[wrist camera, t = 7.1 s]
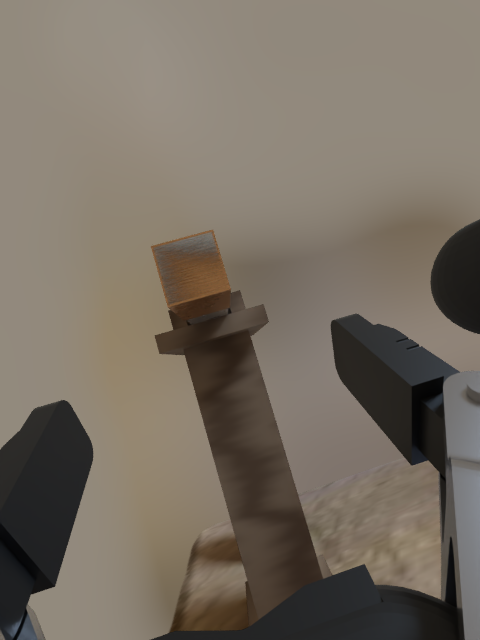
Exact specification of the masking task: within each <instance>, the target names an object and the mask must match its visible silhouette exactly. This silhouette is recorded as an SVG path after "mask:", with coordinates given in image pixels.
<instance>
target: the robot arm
mask: <svg viewBox="0 0 480 640" xmlns="http://www.w3.org/2000/svg"><path fill="white" fill-rule="evenodd" d="M431 291H432V294H433V298H434V301H435V303H436V305H437V306H438V308H439V309H440V310H441V312H442V313H443V314H444V315H445V316H446V317H447V318H448V319H450V320H451V321H452V322H453V323H455V324H457V325H458V326H460V327H462V328H464V329H466V330H468V331H471V332H474V333H477V334H480V220H478V221H475V222H473V223H471V224H469V225H467V226H465V227H464V228H463V229H461V230H459V231H458V232H457V233H455V234H454V235H453V236H452V237H451V238H450V239H449V240H448V241H447V242H446V243H445V245H444V246H443V247H442V249H441V250H440V252H439V254H438V255H437V258H436V260H435V262H434V265H433V269H432V272H431ZM331 334H332V342H333V350H334V359H335V366H336V369H337V372H338V375H339V377H340V379H341V381H342V382H343V383H344V385H345V386H346V387H347V388H348V390H349V391H350V392H351V393H352V394H353V396H354V397H355V398H356V399H357V400H358V402H359V403H360V404H361V405H362V407H363V408H364V409H365V410H366V411H367V413H368V414H369V415H370V416H371V417H372V419H373V420H374V421H375V422H376V423H377V425H378V426H379V427H380V428H381V429H382V431H383V432H384V433H385V434H386V435H387V436H388V438H389V439H390V440H391V441H392V443H393V444H394V445H395V446H396V447H397V449H398V450H399V451H400V452H401V453H402V454H403V456H404V457H405V458H406V459H407V461H408V462H409V463H410V464H411V465H415V464H418V463H421V462H424V461H427V460H429V461H430V462H431V464H432V465H433V466H434V467H435V468H436V469H437V470H438V471H439V505H440V533H441V600H440V599H438V598H435V597H433V596H430V595H427V594H425V593H422V592H419V591H415V590H412V589H408V588H404V587H398V586H390V585H375V584H374V582H373V580H372V578H371V576H370V574H369V572H368V570H367V568H366V566H365V564H364V565H361V566H358V567H355V568H352V569H349V570H347V571H344V572H341V573H338V574H335V575H332V576H330V577H327V578H324V579H321V580H318V581H315V582H313V583H310V584H307V585H304V586H303V587H302V588H300V589H299V590H298V591H296V592H295V593H294V594H292V595H291V596H290V597H288V598H287V599H286V600H284V601H283V602H282V603H280V604H279V605H278V606H276V607H275V608H274V609H272V610H271V611H270V612H268V613H267V614H266V615H264V616H263V617H262V618H260V619H259V620H258V621H256V622H255V623H254V624H252V625H251V626H249V627H248V628H246V629H243V630H237V631H174V632H171V633H168V634H165V635H163V636H160V637H157V638H154V639H151V640H480V371H466V372H459V371H458V370H456V369H455V368H453V367H452V366H450V365H449V364H447V363H446V362H444V361H443V360H441V359H440V358H438V357H437V356H435V355H434V354H432V353H431V352H429V351H427V350H426V349H425V348H423V347H422V346H421V347H419V344H417V343H416V342H414V341H413V340H411V339H410V340H409V339H408V337H406V336H405V335H404V334H402V333H401V332H399V331H398V330H396V329H394V328H390V327H387V326H384V325H381V324H377V325H372V324H371V323H370V322H368V321H367V320H366V319H364V318H363V317H361V316H360V315H359V314H353V315H349V316H346V317H343V318H339V319H336V320H333V321H332V322H331ZM92 461H93V448H92V443H91V440H90V438H89V436H88V435H87V433H86V431H85V429H84V428H83V426H82V424H81V422H80V421H79V419H78V417H77V415H76V414H75V412H74V410H73V408H72V407H71V405H70V404H69V403H68V402H67V401H65V400H61V401H58V402H55V403H51V404H48V405H44V406H41V407H38V408H35V409H34V410H33V411H32V412H31V414H30V416H29V417H28V419H27V420H26V422H25V423H24V425H23V427H22V428H21V430H20V431H19V432H18V433H17V434H16V435H14V436H13V437H12V438H11V439H10V440H9V441H8V442H7V443H6V444H5V445H4V446H3V447H2V448H1V450H0V640H45V637H44V634H43V632H42V630H41V627H40V624H39V622H38V619H37V617H36V614H35V612H34V611H33V610H32V609H31V608H30V606H29V605H28V601H29V598H30V595H31V594H34V593H37V592H40V591H43V590H45V589H49V588H52V587H55V584H56V581H57V578H58V574H59V571H60V567H61V564H62V561H63V558H64V555H65V551H66V548H67V545H68V541H69V538H70V535H71V531H72V528H73V525H74V521H75V518H76V514H77V511H78V508H79V505H80V501H81V498H82V495H83V491H84V488H85V484H86V481H87V478H88V475H89V471H90V468H91V465H92Z"/></svg>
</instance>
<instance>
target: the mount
mask: <svg viewBox="0 0 480 640" xmlns="http://www.w3.org/2000/svg"><path fill="white" fill-rule="evenodd" d="M168 312H169V315H170V319H171V323H172V326H173V330H172V331H169V332H165V333H162V334H159V335H155V339H156V342H157V346H158V350H159V353H160V354H173V355H185V357H186V361H187V364H188V368H189V371H190V375H191V379H192V382H193V386H194V390H195V393H196V397H197V400H198V404H199V407H200V411H201V415H202V418H203V422H204V426H205V429H206V433H207V436H208V440H209V443H210V447H211V451H212V454H213V458H214V462H215V465H216V469H217V472H218V476H219V479H220V483H221V487H222V490H223V493H224V497H225V501H226V505H227V508H228V512H229V515H230V519H231V523H232V526H233V530H234V533H235V537H236V541H237V544H238V548H239V551H240V555H241V559H242V562H243V566H244V569H245V573H246V577H247V580H248V581H247V582H245V584H246V596H247V608H248V620H249V626H251V625H252V624H254V623H255V622H256V621H258V620H259V619H260V618H262V617H263V616H264V615H266V614H267V613H268V612H270V611H271V610H272V609H274V608H275V607H276V606H278V605H279V604H280V603H282V602H283V601H284V600H286V599H287V598H288V597H290V596H291V595H292V594H294V593H295V592H296V591H298V590H299V589H300V588H302V587H303V586H304V585H307V584H310V583H313V582H315V581H318V580H321V579H324V578H327V577H330V576H332V573H331V571H330V569H329V567H328V565H327V563H326V561H325V559H324V557H323V555H321V556H318V557H317V556H316V553H315V550H314V546H313V543H312V540H311V536H310V533H309V530H308V526H307V523H306V520H305V516H304V513H303V510H302V506H301V503H300V500H299V497H298V493H297V490H296V487H295V484H294V480H293V477H292V473H291V470H290V467H289V463H288V460H287V457H286V453H285V450H284V447H283V443H282V440H281V437H280V433H279V430H278V427H277V423H276V420H275V417H274V413H273V410H272V407H271V403H270V400H269V397H268V393H267V390H266V387H265V384H264V380H263V377H262V373H261V370H260V367H259V363H258V360H257V357H256V353H255V350H254V347H253V344H252V340H251V337H250V336H252V335H254V334H255V333H256V332H257V331H259V330H260V329H261V328H262V327H263V326H264V325H266V324H267V323H268V322H269V321H268V317H267V314H266V311H265V308H264V305H263V304H262V305H259V306H255V307H252V308H248V309H245V306H244V302H243V299H242V295H241V292H240V290H239V291H236V292H233V293H231V295H230V308H228V315H224V316H221V317H217V318H214V319H210V320H207V321H203V322H200V323H197V324H193V325H191V324H190V323H189V322H188V321H187V320H185V321H184V320H182V319H181V318H180V317H179V316H178V315H176V314H175V313H174V312H173V311H172V310H169V311H168Z"/></svg>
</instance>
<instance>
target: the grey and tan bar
mask: <svg viewBox="0 0 480 640" xmlns="http://www.w3.org/2000/svg"><path fill="white" fill-rule="evenodd" d="M151 248H152V252H153V255H154V259H155V262H156V266H157V270H158V273H159V277H160V280H161V284H162V288H163V291H164V295H165V298H166V302H167V306H168V308H169V309H170V310H172V311H173V312H174V313H175V314H176V315H178V316H179V317H180V318H181V319H182V320H184V321H185V320H187V321H188V322H189V323H190V324H191V325H193V324H197V323H200V322H203V321H207V320H210V319H214V318H217V317H221V316H224V315H228V308H230V295H231V288H230V285H229V282H228V279H227V275H226V272H225V268H224V265H223V262H222V258H221V255H220V252H219V248H218V245H217V242H216V238H215V235H214V231H213V230H210V231H206V232H202V233H199V234H195V235H191V236H188V237H184V238H180V239H176V240H172V241H169V242H165V243H162V244H158V245H154V246H151Z"/></svg>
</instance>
